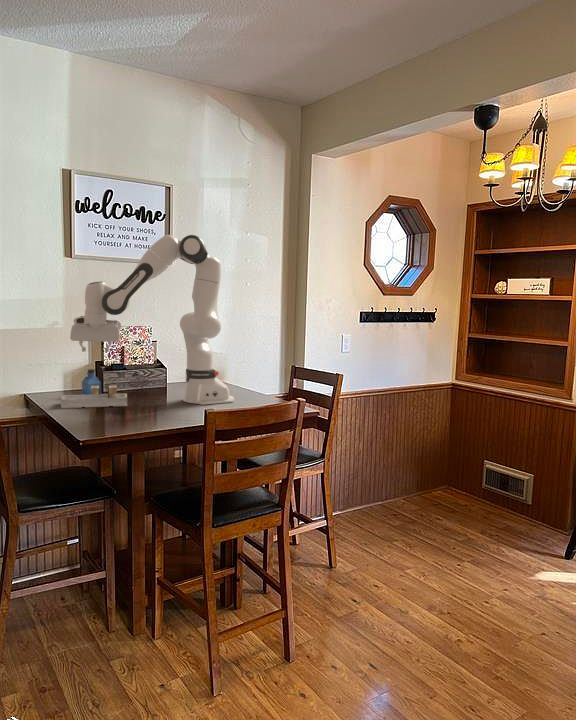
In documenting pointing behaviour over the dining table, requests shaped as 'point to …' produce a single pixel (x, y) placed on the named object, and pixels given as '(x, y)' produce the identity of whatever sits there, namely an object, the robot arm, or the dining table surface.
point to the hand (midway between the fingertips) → (95, 351)
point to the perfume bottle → (90, 382)
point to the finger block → (95, 390)
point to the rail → (93, 400)
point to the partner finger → (112, 391)
